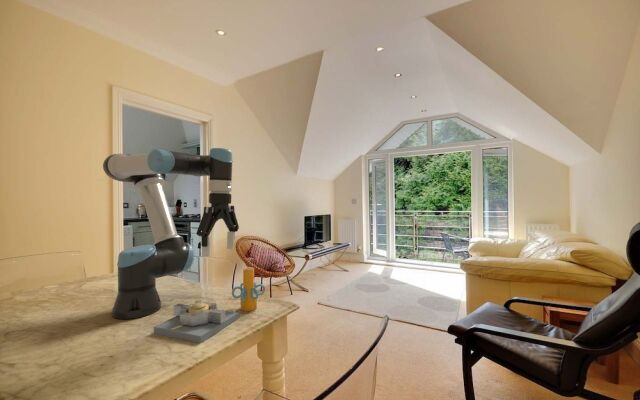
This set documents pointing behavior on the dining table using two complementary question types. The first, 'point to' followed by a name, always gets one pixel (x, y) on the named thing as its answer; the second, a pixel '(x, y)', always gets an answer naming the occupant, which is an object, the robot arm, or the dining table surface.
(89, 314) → the dining table surface
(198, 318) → the grey curved saddle piece
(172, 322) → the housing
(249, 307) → the orange post with rings
